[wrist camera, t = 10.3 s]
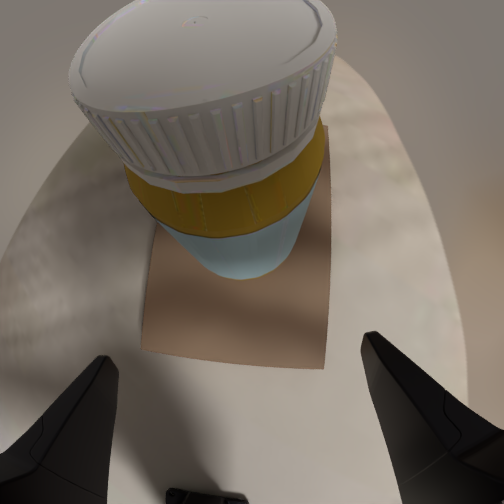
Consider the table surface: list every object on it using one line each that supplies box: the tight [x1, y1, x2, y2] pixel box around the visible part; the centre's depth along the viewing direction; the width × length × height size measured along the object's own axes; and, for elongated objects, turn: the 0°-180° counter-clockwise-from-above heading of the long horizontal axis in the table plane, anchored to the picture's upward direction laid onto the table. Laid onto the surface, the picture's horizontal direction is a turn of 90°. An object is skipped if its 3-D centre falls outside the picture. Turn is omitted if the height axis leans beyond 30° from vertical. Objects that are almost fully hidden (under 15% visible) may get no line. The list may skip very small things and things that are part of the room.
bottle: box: [68, 0, 338, 281], centre depth 12 cm, size 7×7×15 cm
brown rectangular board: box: [141, 125, 331, 369], centre depth 20 cm, size 18×12×2 cm, turn 175°
